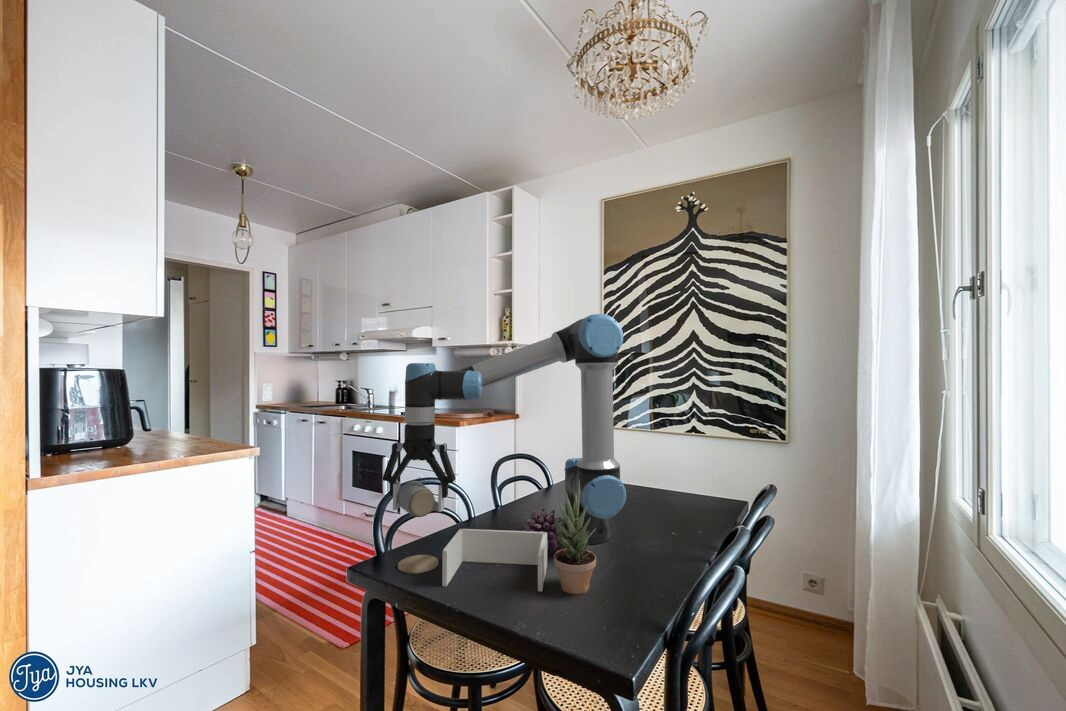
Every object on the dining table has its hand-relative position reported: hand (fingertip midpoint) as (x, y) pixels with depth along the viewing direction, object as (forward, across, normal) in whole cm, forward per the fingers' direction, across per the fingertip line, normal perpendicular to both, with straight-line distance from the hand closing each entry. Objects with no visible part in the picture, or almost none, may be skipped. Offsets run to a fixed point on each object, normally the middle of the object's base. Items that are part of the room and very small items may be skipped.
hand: (418, 509), depth 119 cm
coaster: (+14, 0, 0) cm, 14 cm away
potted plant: (+14, -40, +8) cm, 43 cm away
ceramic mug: (+1, 0, -1) cm, 2 cm away
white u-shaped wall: (+14, -21, +3) cm, 25 cm away
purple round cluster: (+14, -31, -12) cm, 36 cm away
